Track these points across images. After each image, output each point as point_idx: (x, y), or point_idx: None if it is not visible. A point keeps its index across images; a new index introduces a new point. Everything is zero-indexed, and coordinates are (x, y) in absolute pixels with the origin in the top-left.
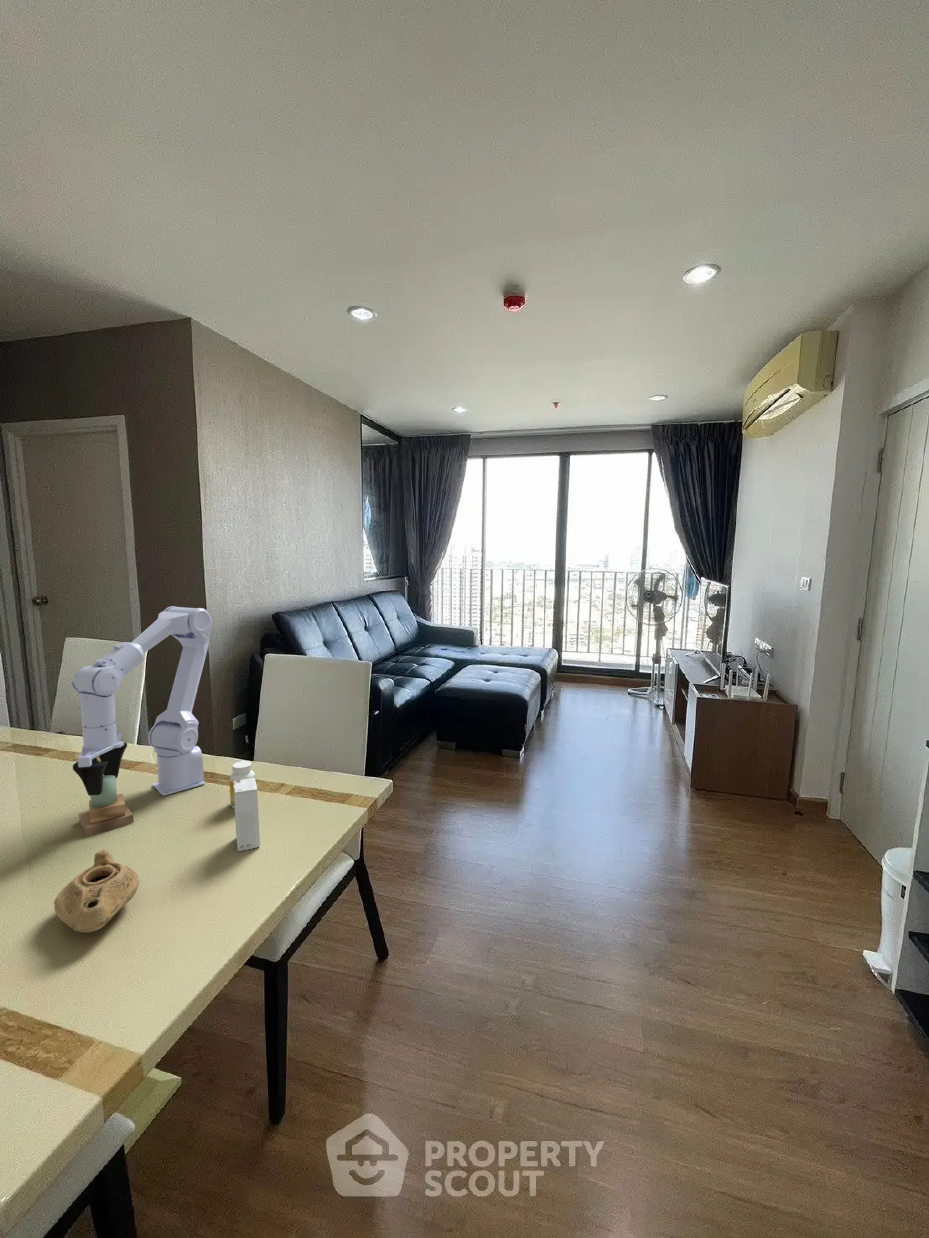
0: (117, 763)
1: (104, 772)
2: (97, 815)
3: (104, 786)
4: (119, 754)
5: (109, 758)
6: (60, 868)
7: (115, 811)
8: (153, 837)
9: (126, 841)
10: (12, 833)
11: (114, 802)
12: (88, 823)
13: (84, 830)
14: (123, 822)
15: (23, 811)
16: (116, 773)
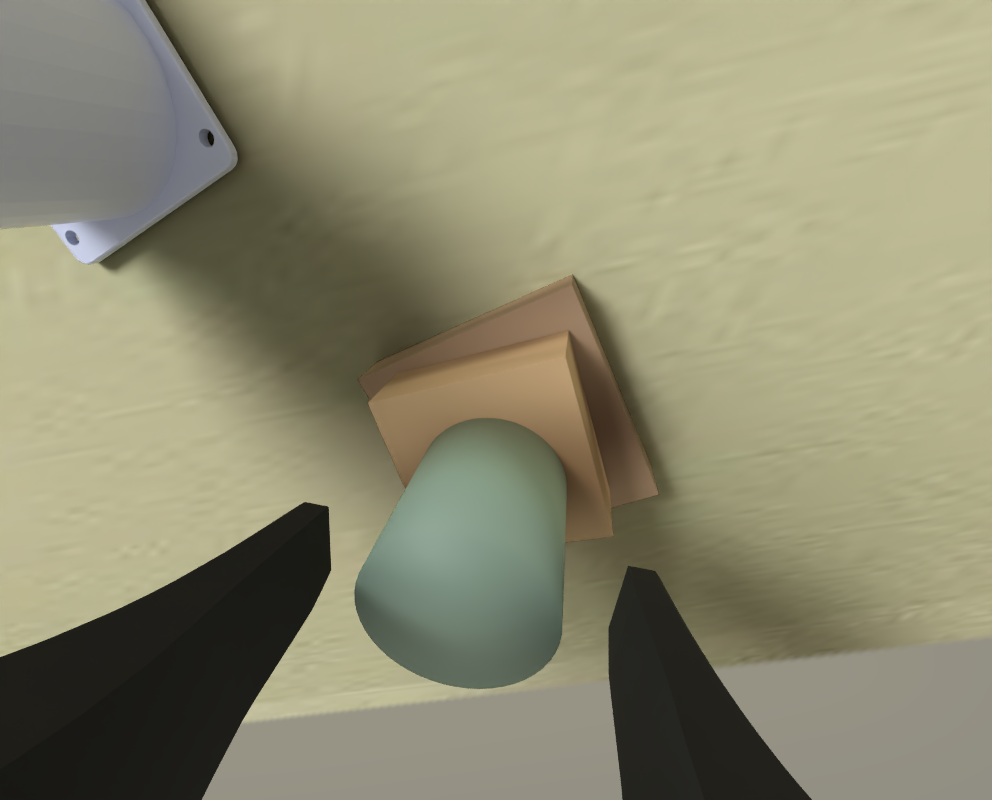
0: (227, 606)
1: (299, 624)
2: (602, 480)
3: (558, 575)
4: (119, 703)
5: (189, 733)
6: (954, 511)
7: (581, 395)
8: (876, 81)
9: (829, 261)
10: (504, 690)
11: (521, 426)
12: None
13: None
14: (592, 327)
15: (331, 688)
16: (301, 534)
